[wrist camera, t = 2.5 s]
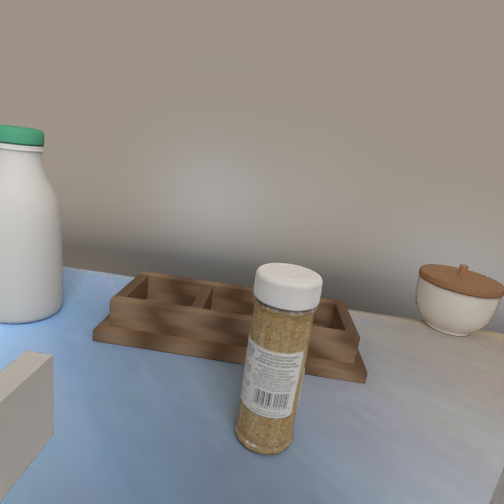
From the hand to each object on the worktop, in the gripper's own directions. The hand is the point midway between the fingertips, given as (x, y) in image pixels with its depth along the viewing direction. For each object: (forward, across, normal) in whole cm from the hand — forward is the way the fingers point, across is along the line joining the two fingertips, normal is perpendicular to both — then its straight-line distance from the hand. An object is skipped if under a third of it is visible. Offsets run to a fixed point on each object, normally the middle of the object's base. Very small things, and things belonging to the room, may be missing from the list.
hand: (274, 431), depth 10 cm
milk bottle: (+28, -27, -14) cm, 41 cm away
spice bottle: (+15, +1, -14) cm, 20 cm away
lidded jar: (+42, +27, -13) cm, 52 cm away
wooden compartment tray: (+30, -3, -13) cm, 33 cm away
